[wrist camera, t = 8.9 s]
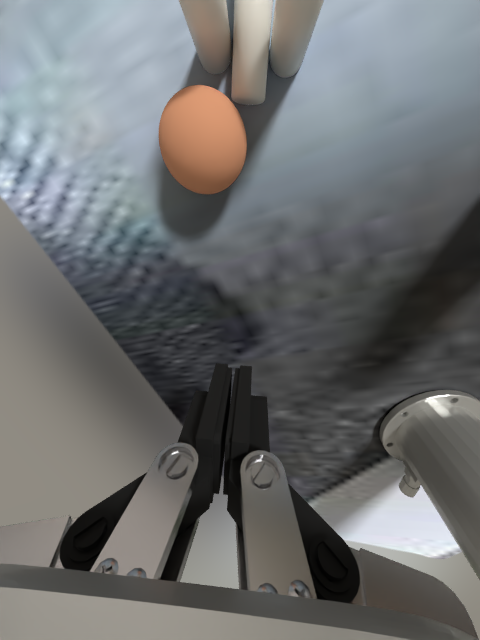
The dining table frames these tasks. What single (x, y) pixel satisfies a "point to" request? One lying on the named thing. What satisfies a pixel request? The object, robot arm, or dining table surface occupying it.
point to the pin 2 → (292, 34)
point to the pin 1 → (209, 32)
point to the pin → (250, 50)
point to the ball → (202, 139)
